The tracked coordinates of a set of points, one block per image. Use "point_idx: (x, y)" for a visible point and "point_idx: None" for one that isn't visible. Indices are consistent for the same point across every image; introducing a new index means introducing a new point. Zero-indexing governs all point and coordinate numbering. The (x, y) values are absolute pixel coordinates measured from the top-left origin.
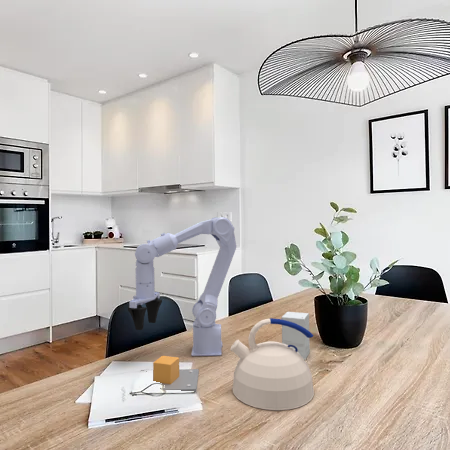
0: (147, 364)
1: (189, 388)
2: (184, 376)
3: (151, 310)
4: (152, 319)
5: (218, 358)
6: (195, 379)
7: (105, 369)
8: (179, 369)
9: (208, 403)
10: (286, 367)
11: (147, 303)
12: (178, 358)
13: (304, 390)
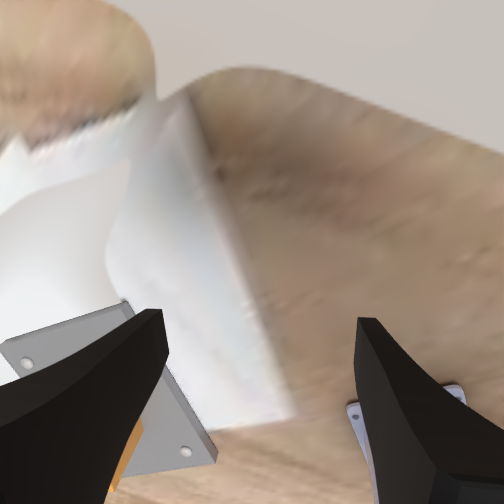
0: (210, 280)
1: None
2: (149, 442)
3: (385, 436)
4: (360, 369)
5: (352, 479)
6: (147, 469)
7: (83, 131)
8: (187, 417)
9: None
10: None
11: (416, 486)
12: (108, 490)
13: None
